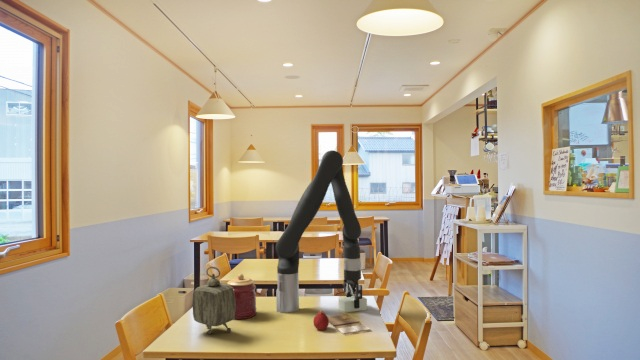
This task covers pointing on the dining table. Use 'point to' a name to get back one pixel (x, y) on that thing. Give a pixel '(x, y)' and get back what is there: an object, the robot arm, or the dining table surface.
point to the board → (348, 325)
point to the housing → (351, 304)
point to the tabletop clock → (214, 303)
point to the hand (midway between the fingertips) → (352, 305)
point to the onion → (321, 321)
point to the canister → (244, 297)
